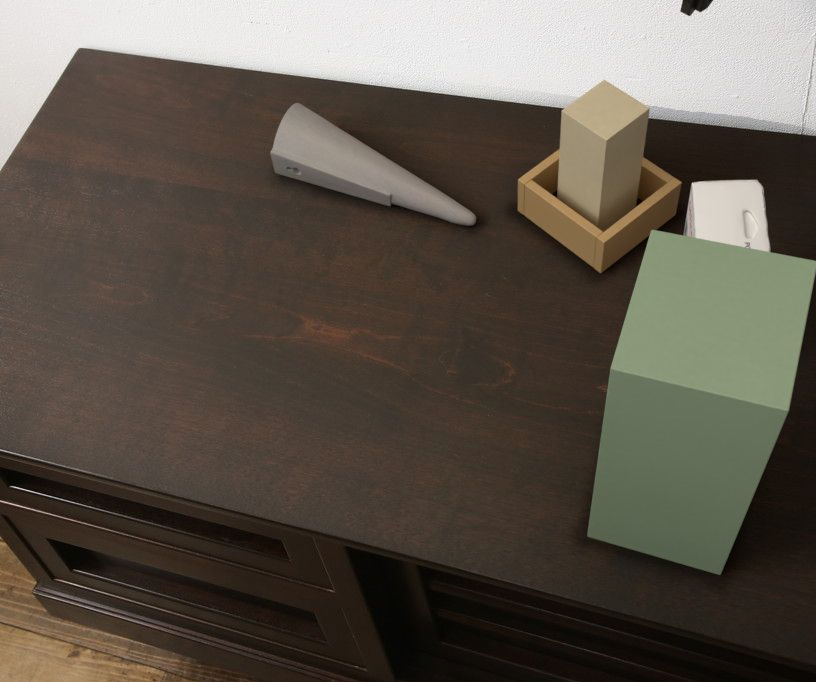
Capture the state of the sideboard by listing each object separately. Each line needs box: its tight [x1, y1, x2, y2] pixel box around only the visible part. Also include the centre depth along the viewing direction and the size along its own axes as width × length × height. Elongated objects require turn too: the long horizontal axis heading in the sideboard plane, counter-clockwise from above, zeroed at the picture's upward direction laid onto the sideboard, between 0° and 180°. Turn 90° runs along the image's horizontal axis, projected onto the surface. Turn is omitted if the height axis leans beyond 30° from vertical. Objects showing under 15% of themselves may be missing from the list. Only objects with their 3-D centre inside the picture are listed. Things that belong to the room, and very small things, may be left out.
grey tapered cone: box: [270, 102, 477, 227], centre depth 96 cm, size 6×6×19 cm
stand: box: [586, 229, 816, 576], centre depth 68 cm, size 9×10×22 cm
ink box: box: [683, 179, 771, 252], centre depth 79 cm, size 9×5×12 cm, turn 172°
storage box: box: [517, 148, 683, 274], centre depth 90 cm, size 10×9×4 cm
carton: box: [556, 79, 651, 232], centre depth 87 cm, size 5×5×12 cm
